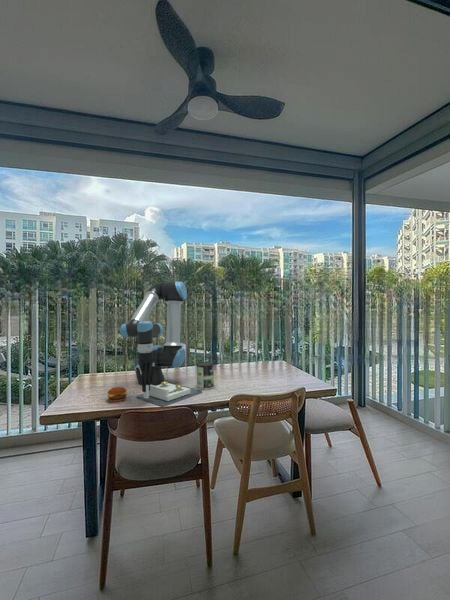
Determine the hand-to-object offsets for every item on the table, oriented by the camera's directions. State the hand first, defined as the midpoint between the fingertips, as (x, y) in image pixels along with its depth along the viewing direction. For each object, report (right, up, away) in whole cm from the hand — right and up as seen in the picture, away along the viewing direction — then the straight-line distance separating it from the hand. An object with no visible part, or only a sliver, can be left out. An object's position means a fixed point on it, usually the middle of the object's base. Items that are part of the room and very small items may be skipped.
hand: (146, 397), depth 156 cm
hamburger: (-17, -3, +6) cm, 18 cm away
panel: (+9, -1, +11) cm, 14 cm away
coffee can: (+29, -3, +27) cm, 39 cm away
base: (+10, -3, +12) cm, 16 cm away
